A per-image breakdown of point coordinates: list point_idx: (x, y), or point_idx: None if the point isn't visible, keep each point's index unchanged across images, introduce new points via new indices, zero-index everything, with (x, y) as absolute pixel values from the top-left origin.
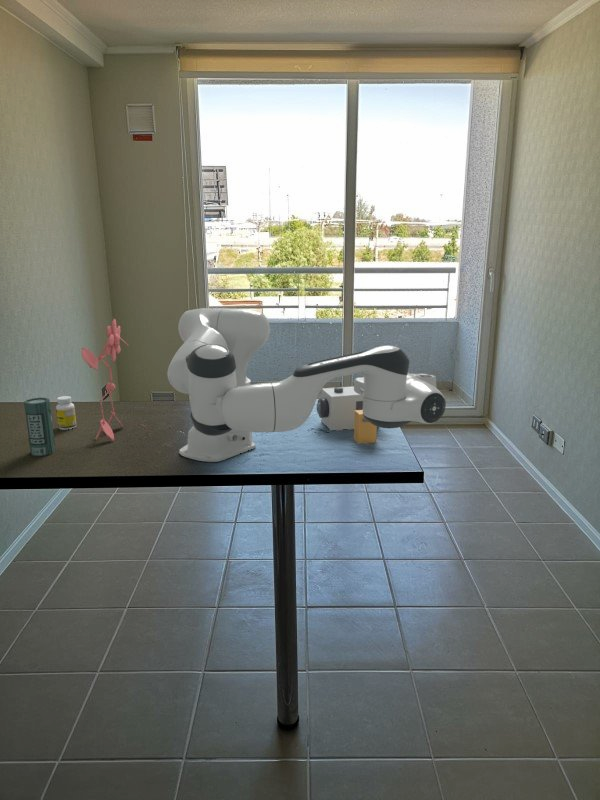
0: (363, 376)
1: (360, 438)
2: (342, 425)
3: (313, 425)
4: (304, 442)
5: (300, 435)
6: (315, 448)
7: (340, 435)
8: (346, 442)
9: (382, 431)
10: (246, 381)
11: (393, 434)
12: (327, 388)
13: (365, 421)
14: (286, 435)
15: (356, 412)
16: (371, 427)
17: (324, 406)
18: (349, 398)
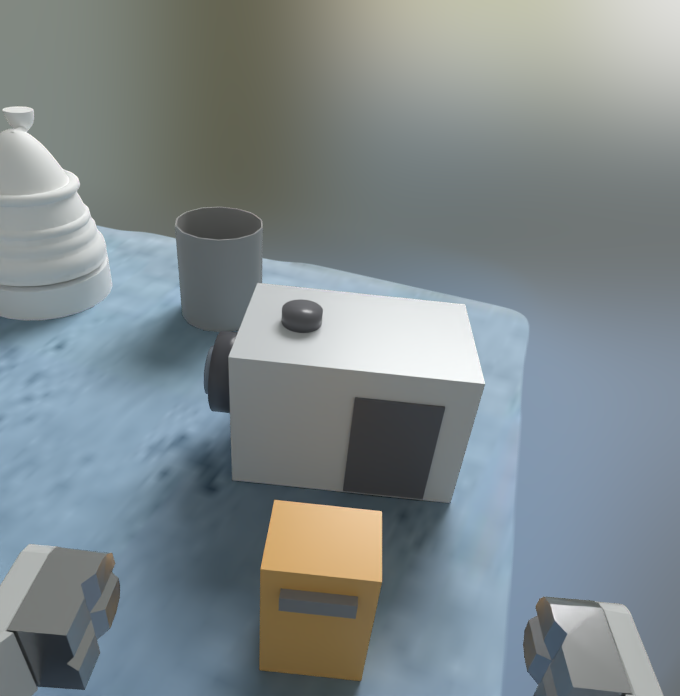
0: (29, 547)
1: (270, 655)
2: (284, 471)
3: (205, 415)
4: None
5: (85, 482)
6: None
7: (241, 535)
8: (213, 627)
9: (447, 554)
10: (40, 191)
11: (488, 606)
12: (279, 287)
13: (295, 609)
14: (35, 465)
15: (269, 526)
16: (337, 630)
17: (217, 379)
18: (321, 379)
